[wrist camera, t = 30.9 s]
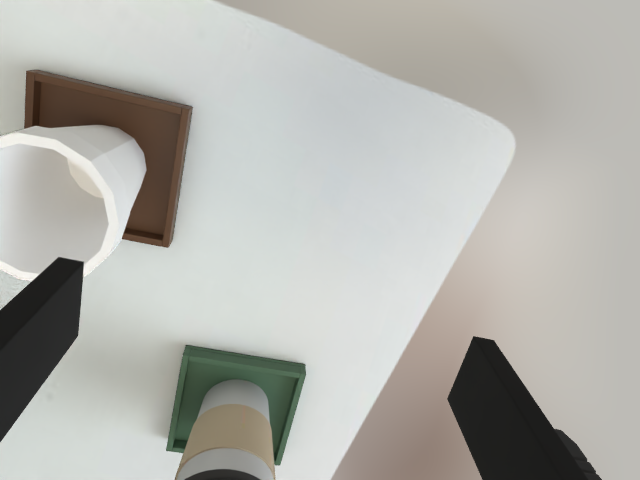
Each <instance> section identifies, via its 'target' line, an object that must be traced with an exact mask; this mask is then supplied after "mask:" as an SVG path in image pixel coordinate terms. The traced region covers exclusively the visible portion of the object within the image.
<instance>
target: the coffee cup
mask: <svg viewBox="0 0 640 480" xmlns="http://www.w3.org/2000/svg"><path fill="white" fill-rule="evenodd" d="M175 480H275V468H274V456H273V443H272V430H271V426H270V420H269V406H268V399H267V396H266V394H265V393H264V391H263V390H262V389H261V388H260V387H259V386H257V385H256V384H254V383H252V382H249V381H246V380H239V379H233V380H227V381H223V382H220V383H218V384H216V385H215V386H213V387H212V388H211V389H210V390H209V391H208V392H207V393H206V395H205V397H204V399H203V402H202V405H201V408H200V411H199V414H198V417H197V420H196V421H195V423H194V425H193V427H192V430H191V433H190V436H189V439H188V442H187V445H186V448H185V450H184V453H183V456H182V459H181V462H180V465H179V468H178V471H177V473H176V477H175Z"/></svg>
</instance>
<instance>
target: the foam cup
mask: <svg viewBox="0 0 640 480" xmlns="http://www.w3.org/2000/svg"><path fill="white" fill-rule="evenodd" d="M145 173H146V163H145V157H144V153H143V151H142V150H141V148H140V147H139V145H138V144H137V142H136V141H135V139H134V138H133V137H131V136H130V135H128V134H127V133H125V132H124V131H122V130H121V129H119V128H116V127H110V126H105V125H87V126H73V127H59V128H45V127H40V126H33V127H29V128H26V129H22V130H18V131H15V132H11V133H7V134H4V135H0V269H1V270H2V271H4V272H6V273H8V274H10V275H12V276H14V277H15V278H17V279H20V280H27V281H33V280H34V279H35V278H36V277H37V276H38V275H39V274H40V273H42V272H43V271H44V270H45V269H46V268H47V267H48V266H49V265H50V264H51V263H52V262H53V261H55V260H56V259H57V258H58V257H62V258H67V259H72V260H78V261H83V262H84V269H83V277H84V276H87V275H88V274H89V273H90V272H91V271H93V270H94V269H95V268H96V267H97V266H98V265H99V264H100V263H102V262H103V261H104V260H105V259H106V258H107V257H108V256H109V255H110V254H111V253H112V252H113V250H114V249H115V248H116V247H117V245H118V244H119V243H120V242H121V239H122V236H123V233H124V230H125V227H126V224H127V221H128V218H129V215H130V211H131V209H132V206H133V204H134V202H135V199H136V197H137V195H138V192H139V190H140V188H141V185H142V182H143V179H144V176H145Z"/></svg>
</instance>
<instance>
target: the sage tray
mask: <svg viewBox="0 0 640 480" xmlns="http://www.w3.org/2000/svg"><path fill="white" fill-rule="evenodd" d="M305 376H306V370H305V364H299V363H293V362H286V361H280V360H274V359H268V358H262V357H256V356H250V355H243V354H237V353H231V352H225V351H219V350H213V349H207V348H200V347H194V346H188V345H186V347H185V350H184V353H183V357H182V363H181V369H180V374H179V380H178V386H177V391H176V397H175V403H174V409H173V414H172V420H171V426H170V431H169V437H168V443H167V448H166V451H172V452H179V453H184V450H185V448H186V445H187V442H188V439H189V436H190V433H191V430H192V427H193V425H194V423H195V421H196V420H197V417H198V414H199V411H200V408H201V405H202V402H203V399H204V397H205V395H206V393H207V392H208V391H209V390H210V389H211V388H212V387H213V386H215V385H216V384H218V383H220V382H223V381H227V380H233V379H239V380H246V381H249V382H252V383H254V384H256V385H257V386H259V387H260V388H261V389H262V390H263V391H264V393H265V394H266V396H267V399H268V406H269V420H270V426H271V430H272V443H273V456H274V464H275V465H280V464H281V460H282V457H283V453H284V450H285V446H286V443H287V439H288V436H289V432H290V429H291V425H292V422H293V418H294V415H295V411H296V407H297V404H298V400H299V397H300V393H301V390H302V386H303V383H304V379H305Z"/></svg>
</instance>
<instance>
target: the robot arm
mask: <svg viewBox="0 0 640 480" xmlns="http://www.w3.org/2000/svg"><path fill="white" fill-rule="evenodd" d="M83 269H84V262H83V261H78V260H72V259H67V258H62V257H58V258H57V259H56V260H55V261H53V262H52V263H51V264H50V265H49V266H48V267H47V268H46V269H45V270H44V271H43V272H42V273H40V274H39V275H38V276H37V277H36V278H35V279H34V280H33V281H32V282H31V283H30V284H28V285H27V286H26V287H25V288H24V289H23V290H22V291H21V292H20V293H19V294H18V295H16V296H15V297H14V298H13V299H12V300H11V301H10V302H9V303H8V304H7V305H6V306H4V307H3V308H2V309H1V310H0V442H1V441H2V439H3V438H4V436H5V435H6V434H7V432H8V431H9V430H10V428H11V427H12V426H13V424H14V423H15V421H16V420H17V419H18V417H19V416H20V415H21V413H22V412H23V410H24V409H25V408H26V406H27V405H28V404H29V402H30V401H31V399H32V398H33V397H34V395H35V394H36V393H37V391H38V390H39V389H40V387H41V386H42V384H43V383H44V382H45V380H46V379H47V378H48V376H49V375H50V373H51V372H52V371H53V369H54V368H55V367H56V365H57V364H58V363H59V361H60V360H61V358H62V357H63V356H64V354H65V353H66V352H67V350H68V349H69V347H70V346H71V345H72V343H73V342H74V341H75V339H76V338H77V336H78V330H79V318H80V306H81V294H82V282H83ZM448 402H449V404H450V406H451V409H452V411H453V413H454V415H455V417H456V420H457V422H458V425H459V427H460V429H461V431H462V433H463V436H464V438H465V441H466V443H467V445H468V447H469V450H470V452H471V454H472V457H473V459H474V461H475V463H476V466H477V468H478V470H479V473H480V475H481V477H482V479H483V480H602V479H601V478H600V477H599V475H597V474H596V471H595V470H594V468H593V467H592V465H591V464H590V463H589V462H587V458H586V457H585V455H584V454H583V453H582V451H581V450H580V448H579V447H578V446H577V444H576V443H575V442H574V441H572V440H571V439H570V438H569V437H568V436H567V435H566V434H565V433H564V432H563V431H561V430H557V429H554V428H553V427H552V425H551V424H550V422H549V421H548V420H547V418H546V417H545V415H544V414H543V412H542V411H541V409H540V408H539V406H538V405H537V403H536V402H535V400H534V399H533V397H532V396H531V395H530V393H529V391H528V390H527V389H526V387H525V386H524V384H523V383H522V381H521V380H520V378H519V377H518V375H517V374H516V372H515V371H514V370H513V368H512V366H511V365H510V364H509V362H508V361H507V359H506V358H505V356H504V355H503V353H502V352H501V351H500V349H499V347H498V346H497V344H496V343H495V341H494V340H490V339H485V338H479V337H473V339H472V341H471V344H470V346H469V348H468V351H467V353H466V356H465V358H464V360H463V363H462V365H461V367H460V370H459V372H458V375H457V377H456V380H455V382H454V384H453V387H452V389H451V392H450V394H449V396H448Z"/></svg>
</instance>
